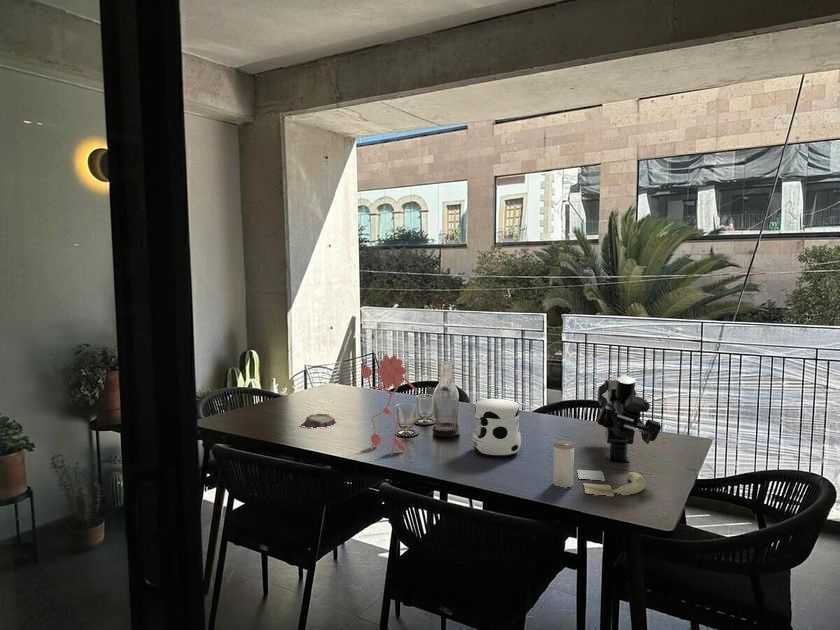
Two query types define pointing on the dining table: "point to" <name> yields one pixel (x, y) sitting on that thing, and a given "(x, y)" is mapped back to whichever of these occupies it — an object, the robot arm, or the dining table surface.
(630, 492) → the fruit
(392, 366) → the pink blossom sprig
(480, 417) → the milk container
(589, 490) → the cork coaster
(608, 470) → the dining table surface
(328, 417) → the quiche
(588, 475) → the grey square tile
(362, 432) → the dining table surface
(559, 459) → the tumbler
